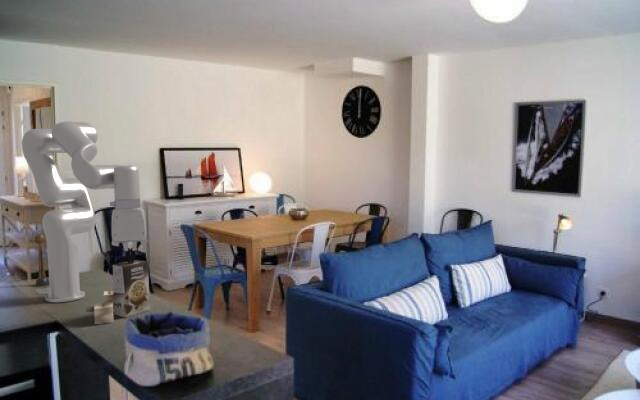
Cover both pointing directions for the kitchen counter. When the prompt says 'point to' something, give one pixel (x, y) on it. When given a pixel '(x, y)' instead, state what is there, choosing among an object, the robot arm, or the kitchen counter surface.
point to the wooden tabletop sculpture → (40, 261)
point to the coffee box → (131, 288)
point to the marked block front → (103, 313)
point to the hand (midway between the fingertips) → (130, 262)
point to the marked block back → (109, 297)
